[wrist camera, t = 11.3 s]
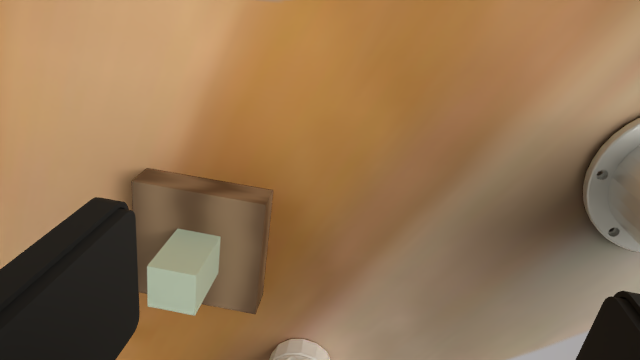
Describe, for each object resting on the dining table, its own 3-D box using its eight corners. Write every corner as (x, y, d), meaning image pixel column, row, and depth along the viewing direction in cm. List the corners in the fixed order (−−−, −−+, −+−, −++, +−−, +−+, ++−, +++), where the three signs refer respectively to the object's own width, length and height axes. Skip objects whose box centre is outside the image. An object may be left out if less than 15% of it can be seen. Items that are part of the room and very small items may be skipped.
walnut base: (273, 190, 43) (265, 204, 40) (262, 294, 48) (255, 314, 45) (147, 168, 43) (131, 181, 41) (149, 273, 48) (135, 291, 45)
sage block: (220, 236, 42) (196, 275, 36) (218, 273, 43) (194, 315, 38) (177, 228, 42) (147, 266, 36) (176, 264, 44) (147, 306, 38)
